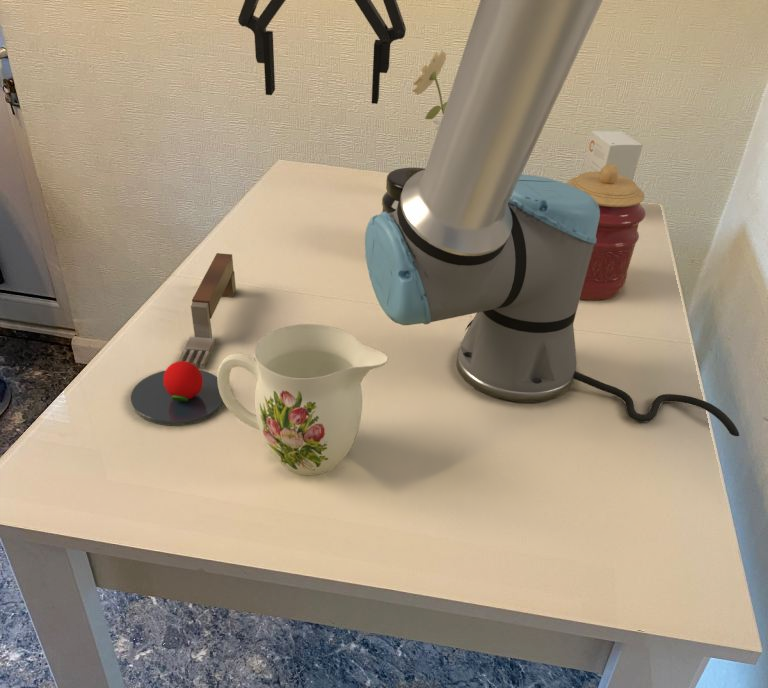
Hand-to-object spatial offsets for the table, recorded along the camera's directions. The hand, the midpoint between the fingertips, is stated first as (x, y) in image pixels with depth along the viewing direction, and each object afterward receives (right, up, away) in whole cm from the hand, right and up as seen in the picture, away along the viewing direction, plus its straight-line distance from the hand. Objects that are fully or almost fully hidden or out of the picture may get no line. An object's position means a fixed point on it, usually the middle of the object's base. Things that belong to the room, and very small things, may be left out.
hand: (322, 96), depth 95 cm
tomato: (-15, -36, -10) cm, 41 cm away
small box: (+48, +3, +43) cm, 65 cm away
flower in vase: (+17, +3, +41) cm, 45 cm away
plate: (-16, -40, -8) cm, 44 cm away
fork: (-15, -28, +4) cm, 33 cm away
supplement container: (+12, -12, +25) cm, 30 cm away
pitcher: (-1, -47, -14) cm, 50 cm away
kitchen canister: (+39, -18, +21) cm, 48 cm away
